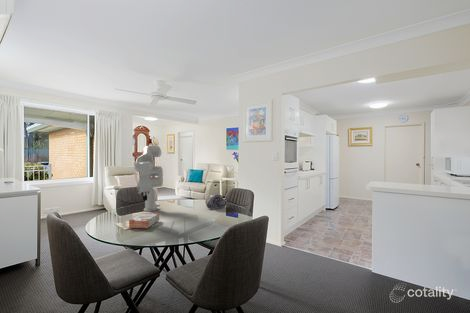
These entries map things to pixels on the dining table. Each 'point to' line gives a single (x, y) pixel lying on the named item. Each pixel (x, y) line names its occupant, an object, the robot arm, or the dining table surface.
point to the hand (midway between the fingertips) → (145, 200)
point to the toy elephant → (215, 201)
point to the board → (123, 225)
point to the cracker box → (143, 220)
